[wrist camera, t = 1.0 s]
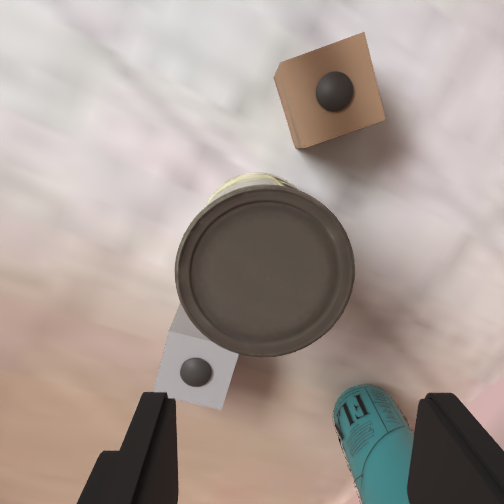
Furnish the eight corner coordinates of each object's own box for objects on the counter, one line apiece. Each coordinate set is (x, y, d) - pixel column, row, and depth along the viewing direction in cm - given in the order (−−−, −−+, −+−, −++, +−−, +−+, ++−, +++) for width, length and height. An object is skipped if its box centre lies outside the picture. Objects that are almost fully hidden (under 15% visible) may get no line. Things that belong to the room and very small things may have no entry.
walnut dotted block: (342, 52, 33) (365, 31, 27) (361, 124, 34) (386, 119, 28) (273, 77, 33) (280, 61, 27) (295, 148, 35) (306, 147, 29)
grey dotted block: (240, 318, 39) (240, 349, 33) (224, 372, 40) (221, 411, 34) (180, 303, 38) (168, 332, 32) (165, 357, 40) (152, 395, 34)
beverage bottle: (349, 363, 40) (450, 564, 21) (403, 390, 41) (549, 607, 22) (315, 413, 41) (380, 645, 22) (369, 438, 42) (476, 683, 23)
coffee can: (327, 188, 36) (381, 213, 22) (294, 294, 38) (323, 375, 24) (215, 157, 35) (198, 162, 21) (188, 267, 37) (156, 335, 24)
